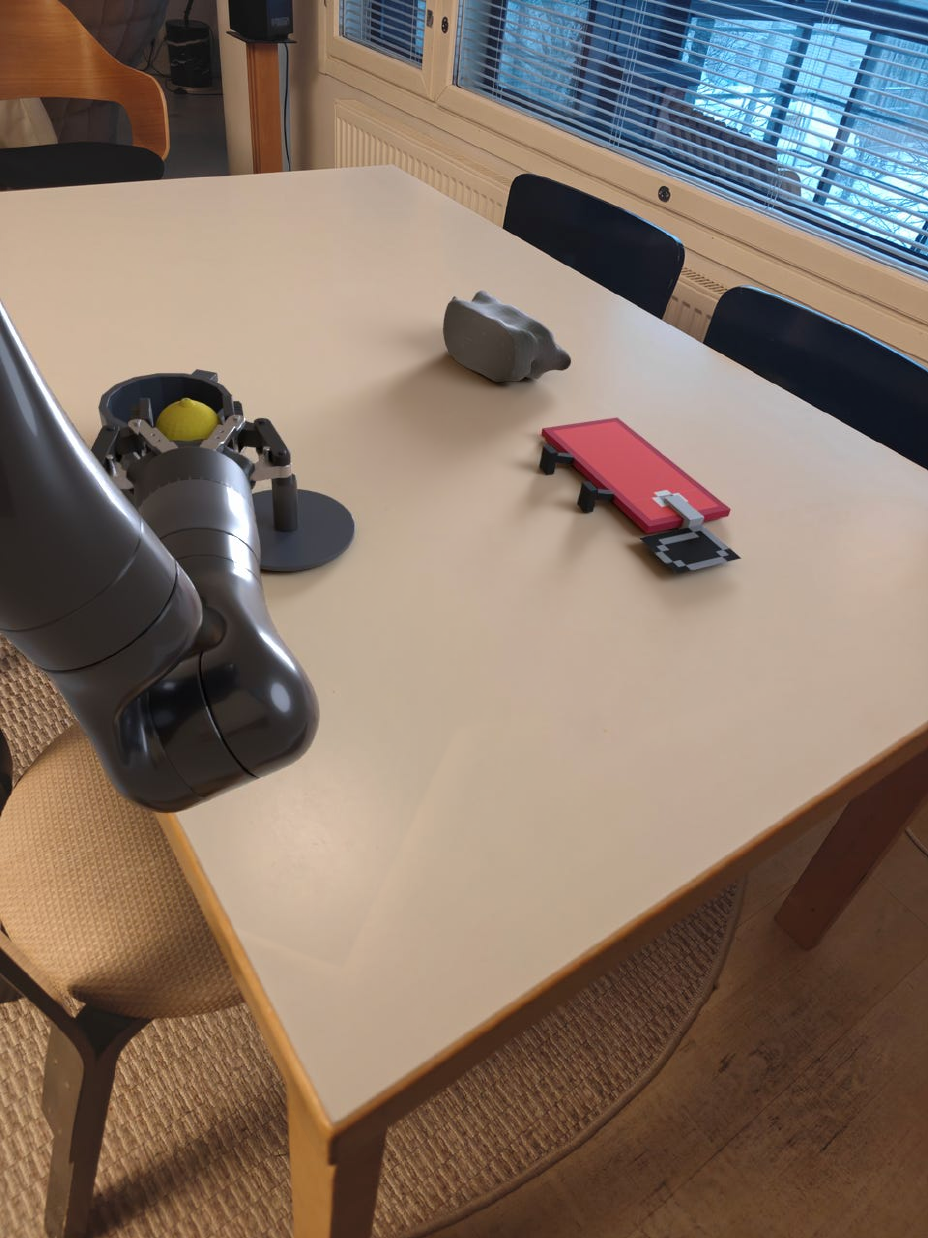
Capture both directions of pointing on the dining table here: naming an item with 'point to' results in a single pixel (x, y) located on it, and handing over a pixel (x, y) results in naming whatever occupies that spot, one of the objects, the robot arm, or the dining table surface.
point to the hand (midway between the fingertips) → (187, 407)
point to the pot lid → (300, 527)
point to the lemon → (187, 421)
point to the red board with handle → (641, 490)
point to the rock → (500, 340)
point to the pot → (159, 399)
